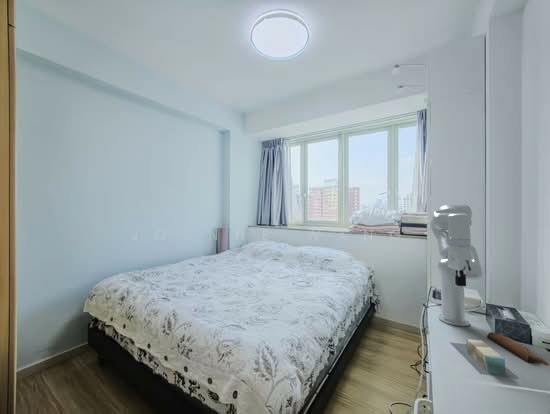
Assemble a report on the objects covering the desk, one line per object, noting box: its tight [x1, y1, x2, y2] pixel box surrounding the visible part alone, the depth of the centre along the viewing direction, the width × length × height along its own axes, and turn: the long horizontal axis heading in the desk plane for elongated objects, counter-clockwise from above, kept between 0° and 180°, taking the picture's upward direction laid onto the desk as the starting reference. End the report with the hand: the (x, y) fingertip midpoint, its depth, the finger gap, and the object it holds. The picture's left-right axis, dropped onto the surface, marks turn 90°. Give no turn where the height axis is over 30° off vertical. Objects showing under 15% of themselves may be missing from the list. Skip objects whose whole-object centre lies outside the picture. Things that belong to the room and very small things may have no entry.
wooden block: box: [466, 338, 506, 374], centre depth 83 cm, size 5×5×12 cm
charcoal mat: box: [449, 341, 520, 380], centre depth 86 cm, size 20×11×1 cm, turn 167°
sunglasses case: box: [486, 331, 550, 366], centre depth 91 cm, size 18×7×7 cm
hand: (460, 285), depth 98 cm, fingers closed
